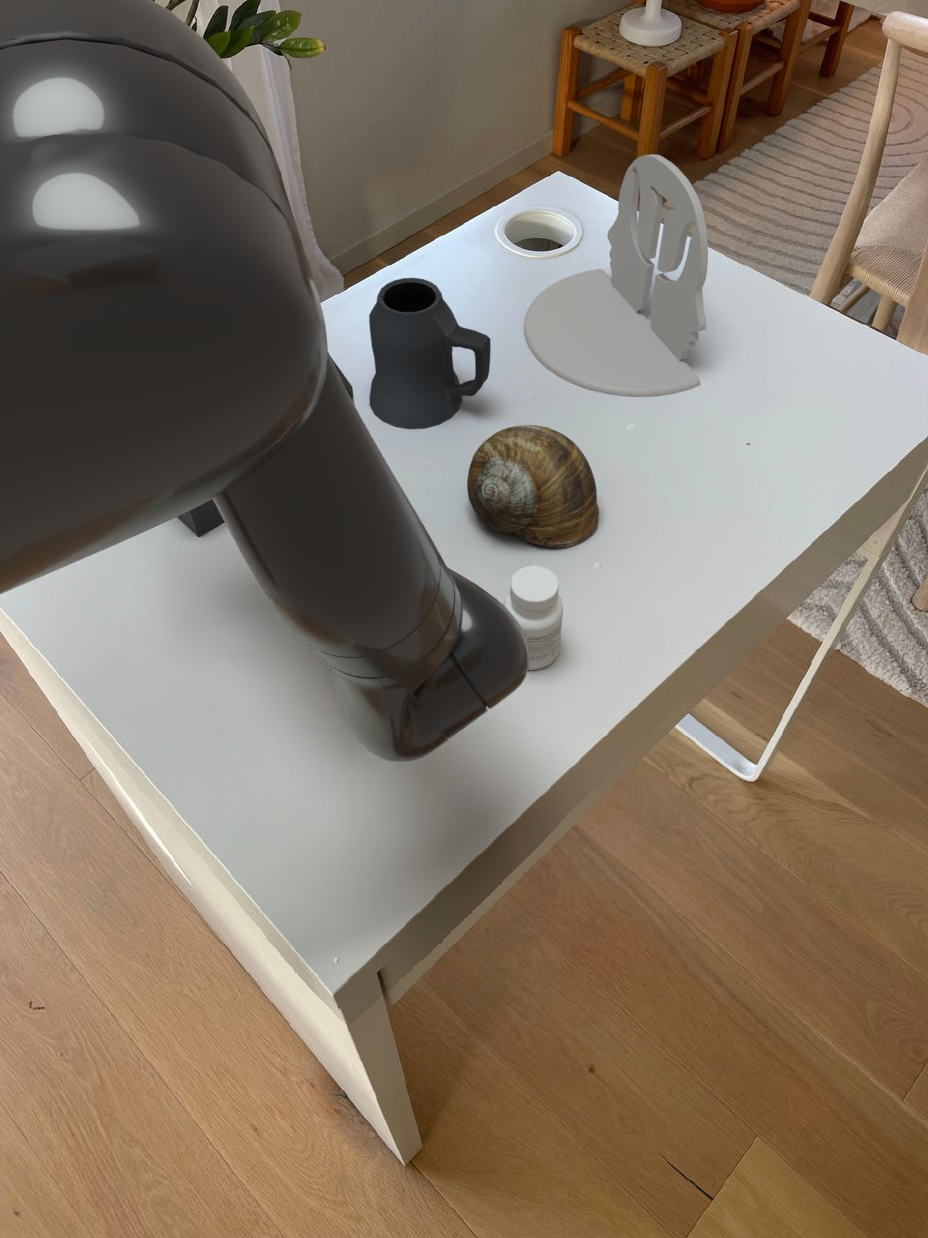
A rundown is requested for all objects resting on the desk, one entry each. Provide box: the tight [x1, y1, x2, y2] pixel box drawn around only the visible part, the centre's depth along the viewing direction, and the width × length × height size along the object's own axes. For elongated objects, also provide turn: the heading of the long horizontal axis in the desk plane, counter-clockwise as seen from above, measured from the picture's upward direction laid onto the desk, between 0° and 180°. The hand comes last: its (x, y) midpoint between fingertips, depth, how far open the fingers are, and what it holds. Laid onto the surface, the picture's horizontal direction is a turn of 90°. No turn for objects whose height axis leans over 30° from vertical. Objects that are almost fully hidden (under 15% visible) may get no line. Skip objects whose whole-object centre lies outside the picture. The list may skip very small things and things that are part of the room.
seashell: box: [466, 424, 600, 548], centre depth 79 cm, size 11×9×8 cm
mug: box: [368, 277, 492, 430], centre depth 88 cm, size 12×9×11 cm
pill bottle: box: [502, 565, 564, 671], centre depth 71 cm, size 4×4×8 cm
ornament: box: [523, 153, 709, 398], centre depth 92 cm, size 22×13×17 cm, turn 22°
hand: (207, 358), depth 69 cm, fingers open, 8 cm apart
